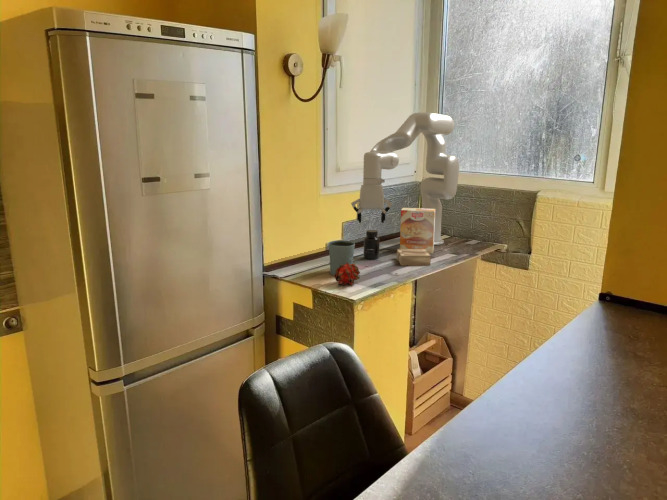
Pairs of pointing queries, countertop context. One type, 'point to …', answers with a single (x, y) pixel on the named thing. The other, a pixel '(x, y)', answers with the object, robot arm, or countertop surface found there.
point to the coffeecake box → (417, 229)
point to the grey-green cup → (340, 254)
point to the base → (413, 257)
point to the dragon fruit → (347, 274)
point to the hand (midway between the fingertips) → (371, 222)
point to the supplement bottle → (371, 245)
